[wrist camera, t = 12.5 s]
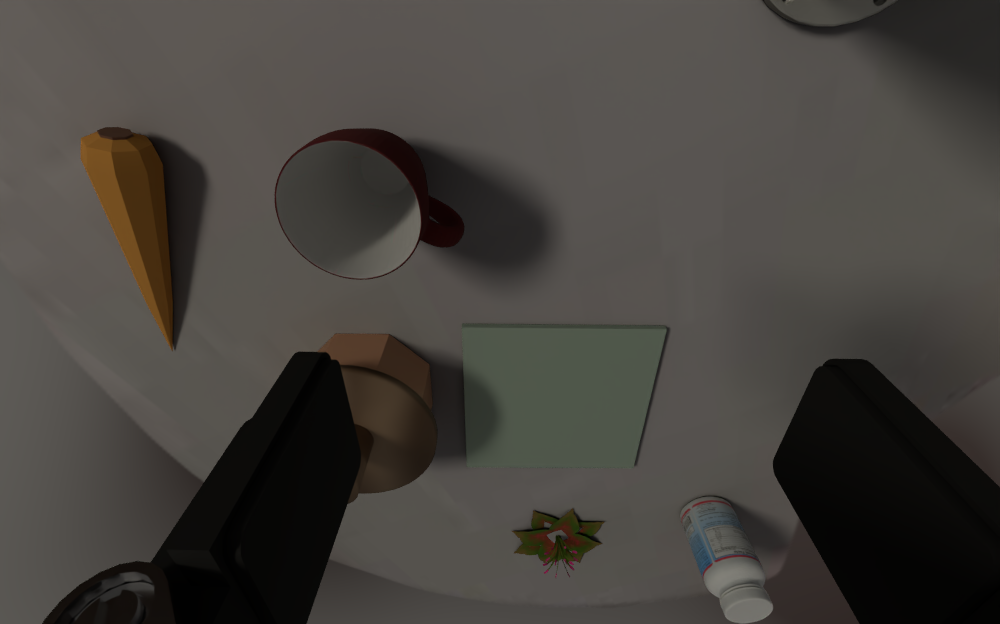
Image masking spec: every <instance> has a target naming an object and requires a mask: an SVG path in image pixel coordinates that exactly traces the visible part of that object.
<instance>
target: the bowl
mask: <svg viewBox="0 0 1000 624" xmlns="http://www.w3.org/2000/svg"><path fill="white" fill-rule="evenodd" d="M317 352H327V353H328V354H329V355H330V357H331V359H333V360H338V362H339V364H340V365H354V366H360V367H366V368H370V369H373V370H377V371H380V372H383V373H385V374H388V375H390V376H392V377H394V378H396V379H398V380H400V381H401V382H403V383H405V384H406V385H408V386H409V387H410V388H412V389H413V390H414V391H415V392H416V393H417V394H418V395H419V396H420V397H421V398H422V399H423V400H424V401H425V402H426V404H427V405H428V406H429V408H430V410H432V405H433V400H432V388H431V376H430V365H429V364H428V363H427V362H425V361H424V360H423V359H421V358H420V357H419V356H418V355H416V354H415V353H414V352H412V351H411V350H410V349H408V348H407V347H406V346H404V345H403V344H402V343H400V342H399V341H398V340H396V339H395V338H394V337H392V336H391V335H390V334H335V335H334V336H333V337H332V338H331V339H330V340H329V341H328V342H327V343H326V344H325V345H324V346H323V347H322V348H321V349H320V350H318V351H317Z"/></svg>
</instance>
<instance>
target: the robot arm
mask: <svg viewBox="0 0 1000 624" xmlns="http://www.w3.org/2000/svg"><path fill="white" fill-rule="evenodd" d="M763 1H764V2H765V3H766V4H767V6H768V7H769V8H771V9H772V10H773V11H775V12H776V13H777V14H778V15H780V16H781V17H782V18H785V19H787V20H790V21H792V22H795V23H797V24H800V25H808V26H815V27H822V26H838V25H843V24H848V23H854V22H857V21H859V20H862V19H864V18H867V17H870V16H872V15H875V14H877V13H879V12H880V11H882V10H884V9H885V8H887V7H889V6H890V5H892V4H894V3H896V2H897V1H899V0H783V1H782V0H763ZM360 464H361V450H360V446H359V442H358V437H357V433H356V429H355V425H354V421H353V417H352V412H351V408H350V404H349V400H348V396H347V392H346V388H345V383H344V379H343V375H342V371H341V367H340V364H339V362H338V360H333V359H331V357H330V355H329V354H328V353H327V352H297V353H295V354H294V355H293V356H292V358H291V359H290V361H289V362H288V364H287V365H286V367H285V369H284V370H283V372H282V373H281V375H280V376H279V378H278V379H277V381H276V382H275V384H274V385H273V387H272V388H271V390H270V391H269V393H268V394H267V396H266V398H265V399H264V401H263V402H262V404H261V405H260V407H259V408H258V410H257V411H256V413H255V414H254V416H253V417H252V418H251V419H250V420H248V421H246V422H245V423H244V424H243V426H242V427H241V428H240V429H239V431H238V432H237V434H236V435H235V437H234V438H233V440H232V441H231V443H230V444H229V446H228V447H227V449H226V450H225V452H224V453H223V455H222V456H221V458H220V459H219V461H218V462H217V464H216V465H215V467H214V468H213V470H212V471H211V473H210V474H209V476H208V477H207V479H206V480H205V482H204V483H203V485H202V486H201V488H200V490H199V491H198V492H197V494H196V495H195V497H194V498H193V500H192V501H191V503H190V504H189V506H188V507H187V509H186V510H185V512H184V513H183V515H182V516H181V518H180V519H179V521H178V523H177V524H176V525H175V527H174V528H173V530H172V531H171V533H170V534H169V536H168V537H167V539H166V540H165V542H164V543H163V545H162V546H161V548H160V549H159V551H158V552H157V554H156V555H155V557H154V558H153V560H152V561H151V562H142V561H135V562H129V563H123V564H119V565H116V566H114V567H111V568H109V569H106V570H104V571H101V572H99V573H98V574H96V575H94V576H93V577H91V578H89V579H88V580H86V581H85V582H83V583H81V584H80V585H79V586H77V587H76V588H75V589H74V590H73V591H71V592H70V593H69V594H68V595H67V596H66V597H64V598H63V599H62V600H61V601H60V602H59V603H58V604H57V605H56V607H55V608H54V609H53V610H52V612H51V613H50V614H49V615H48V616H47V617H46V618H45V620H44V621H43V623H42V624H306V623H307V621H308V617H309V615H310V612H311V609H312V606H313V603H314V600H315V597H316V594H317V591H318V588H319V585H320V582H321V580H322V577H323V574H324V571H325V568H326V565H327V562H328V559H329V556H330V553H331V550H332V548H333V545H334V542H335V539H336V536H337V533H338V530H339V527H340V524H341V521H342V518H343V515H344V512H345V510H346V507H347V504H348V501H349V498H350V495H351V492H352V489H353V486H354V483H355V480H356V477H357V475H358V472H359V468H360ZM773 470H774V474H775V476H776V478H777V480H778V482H779V484H780V485H781V487H782V489H783V491H784V492H785V494H786V496H787V498H788V499H789V501H790V503H791V505H792V506H793V508H794V510H795V512H796V513H797V515H798V517H799V519H800V520H801V522H802V524H803V525H804V527H805V529H806V531H807V532H808V534H809V536H810V538H811V539H812V541H813V543H814V545H815V546H816V548H817V550H818V552H819V553H820V555H821V557H822V559H823V560H824V562H825V564H826V566H827V567H828V569H829V571H830V573H831V574H832V576H833V578H834V580H835V581H836V583H837V585H838V587H839V588H840V590H841V592H842V594H843V595H844V597H845V599H846V600H847V602H848V604H849V606H850V608H851V609H852V611H853V613H854V615H855V616H856V618H857V620H858V622H859V623H860V624H1000V487H999V486H998V485H997V484H996V483H995V482H994V481H993V480H992V479H991V478H990V477H989V476H988V475H987V474H985V473H984V472H983V471H982V470H981V469H980V468H979V467H978V466H977V465H976V464H975V463H974V462H973V461H972V460H971V459H970V458H969V457H968V456H967V455H966V454H965V453H964V452H962V450H961V449H960V448H959V447H957V446H956V445H955V444H954V443H953V442H952V441H951V440H950V439H949V438H948V437H947V436H946V435H945V434H944V433H943V432H942V431H941V430H940V429H939V428H938V427H937V426H936V425H935V424H934V423H933V422H931V421H930V420H929V419H928V418H927V417H926V416H925V415H924V414H923V413H922V412H921V411H920V410H919V409H918V408H917V407H916V406H915V405H914V404H913V403H912V402H911V401H910V400H909V399H908V398H907V397H906V396H905V395H904V394H902V393H901V392H900V391H899V390H898V389H897V388H896V387H895V386H894V385H893V384H892V383H891V382H890V381H889V380H888V379H887V378H886V377H885V376H884V375H883V374H882V373H881V372H880V371H879V370H878V369H877V368H876V367H874V366H873V365H872V364H871V363H870V362H868V361H867V360H863V359H830V360H828V361H826V362H825V363H824V364H823V366H821V367H818V368H817V369H816V370H815V372H814V374H813V376H812V378H811V380H810V382H809V384H808V386H807V388H806V391H805V393H804V395H803V397H802V399H801V401H800V403H799V406H798V408H797V410H796V412H795V414H794V416H793V418H792V420H791V423H790V425H789V427H788V429H787V431H786V433H785V435H784V438H783V440H782V442H781V444H780V446H779V448H778V450H777V453H776V455H775V457H774V460H773Z"/></svg>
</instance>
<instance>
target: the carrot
mask: <svg viewBox="0 0 1000 624" xmlns="http://www.w3.org/2000/svg"><path fill="white" fill-rule="evenodd" d="M81 160H82V163H83V165H84V167H85V169H86V171H87V174H88V176H89V178H90V180H91V182H92V185H93V187H94V189H95V191H96V193H97V196H98V198H99V200H100V202H101V204H102V207H103V209H104V211H105V213H106V215H107V218H108V220H109V222H110V224H111V226H112V229H113V231H114V233H115V235H116V237H117V240H118V242H119V244H120V246H121V248H122V251H123V253H124V255H125V257H126V259H127V262H128V264H129V266H130V268H131V270H132V273H133V275H134V277H135V279H136V281H137V284H138V286H139V288H140V290H141V292H142V295H143V297H144V299H145V301H146V303H147V305H148V307H149V309H150V311H151V313H152V315H153V316H154V318H155V320H156V322H157V324H158V326H159V328H160V329H161V331H162V333H163V335H164V337H165V339H166V341H167V342H168V344H169V346H170V348H171V350H172V352H173V298H172V285H171V271H170V257H169V243H168V230H167V216H166V202H165V188H164V174H163V164H162V162H161V160H160V158H159V156H158V154H157V152H156V150H155V148H154V146H153V144H152V143H151V142H150V141H149V139H148V138H147V137H146V136H144V135H139V134H135V133H132V132H131V131H130V130H128V129H124V128H120V127H106V128H103V129H100V130H97V132H95V133H93V134H90V135H88V136H85V137H83V138H81Z"/></svg>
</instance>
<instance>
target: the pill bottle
mask: <svg viewBox="0 0 1000 624" xmlns="http://www.w3.org/2000/svg"><path fill="white" fill-rule="evenodd" d="M680 519H681V523H682V526H683V528H684V531H685V533H686V536H687V538H688V541H689V544H690V546H691V549H692V551H693V554H694V557H695V559H696V562H697V564H698V567H699V570H700V572H701V575H702V577H703V580H704V582H705V585H706V587H707V588H708V590H709V591H710V592H711V593H712V594H713V595H715V596H717V597H719V598H720V606H721V607H722V610H723V612H724V615H725V617H726V618H727V619H728V620H730V621H732V622H735V623H751V622H756V621H759V620H761V619H764V618H765V617H767V616H768V615H769V614H770V613H771V612H772V610H773V605H772V602H771V600H770V598H769V596H768V593H767V592H766V591H765V589H764V588H763V585H764V583H765V573H764V570H763V568H762V565H761V563H760V561H759V559H758V557H757V555H756V553H755V551H754V549H753V547H752V545H751V543H750V541H749V539H748V537H747V535H746V534H745V531H744V529H743V527H742V525H741V523H740V521H739V519H738V517H737V515H736V513H735V511H734V509H733V507H732V506H731V504H730V503H729V502H727V501H726V500H724V499H722V498H719V497H714V496H706V497H701V498H697V499H695V500H693V501H691V502H689V503H688V504H687V505H686V506H685V507H684V508H683V509H682V511H681V514H680Z"/></svg>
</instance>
